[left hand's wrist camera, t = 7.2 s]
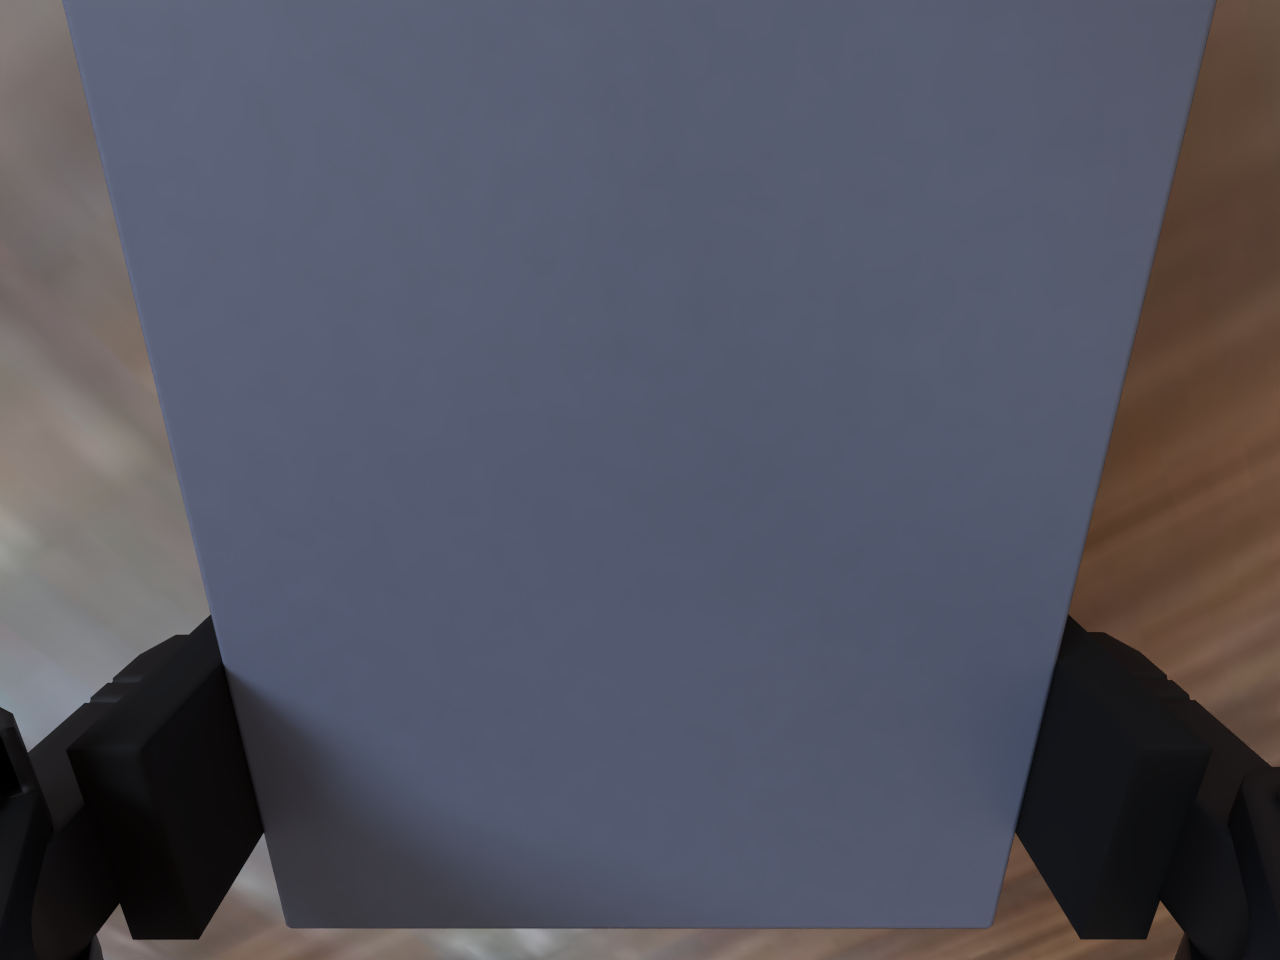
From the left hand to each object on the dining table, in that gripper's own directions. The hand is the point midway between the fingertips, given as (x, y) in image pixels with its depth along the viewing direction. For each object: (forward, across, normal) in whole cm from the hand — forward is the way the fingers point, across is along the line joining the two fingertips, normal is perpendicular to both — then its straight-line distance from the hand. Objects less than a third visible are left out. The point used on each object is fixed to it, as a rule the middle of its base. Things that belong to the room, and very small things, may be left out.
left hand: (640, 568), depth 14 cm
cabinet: (+4, 0, -7) cm, 8 cm away
